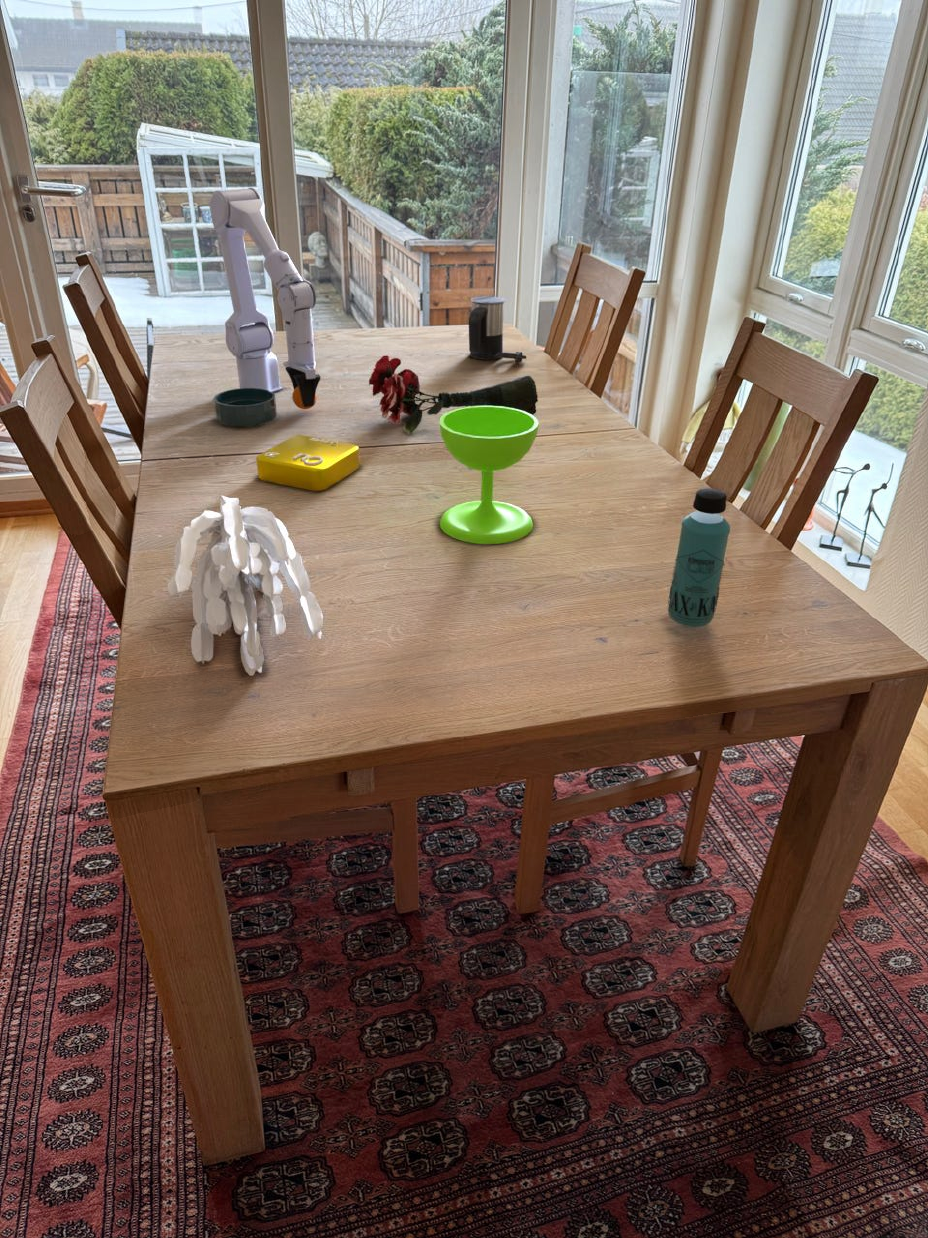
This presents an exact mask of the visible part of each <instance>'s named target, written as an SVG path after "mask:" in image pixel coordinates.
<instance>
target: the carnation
mask: <svg viewBox="0 0 928 1238" xmlns="http://www.w3.org/2000/svg"><path fill="white" fill-rule="evenodd" d="M401 364H402V360H401V359H400V358H398V357H393V358H391V359H390V356H389V355H387V354H386V355H382V356H381V357H380V358H379V359H378V360H377V361H376V363H375V365H374V368H373V371H372V373H371V375H370V377H369V379H368V385H369V386H371V385H372V396H373V397H375V396H376V395H379V394H382V395H383V396H382V397H381V399H380V401H379V404H378V405H379V406H380V410H379V411H380V413H381V418H382V419H384V420H387V421H389V423H391V424H396V423H397V424H401V414H402V413H403V414H406V415H407V416H408V417H407V418H406V421H405V423H404V430H405V432H406V433H407V434H409V435H412V434H413V432H414V431H415V430H417V428H418V427H419V425H420V423H421V421H422V419H423V412H425V411H427V412H426V414H427V415H430V416H431V415H432V416H433V415H437V414H439V413H441V411H442V409H449V408H450V407H451V408H464V407H471V406H502V407H509V408H515V409H518V410H522V411H525V412H527V413H530V414H532V415H533V416H534V415H535V414H536V413H537V406H536V403H538V402H539V398H538V391H537V384H536V381H535V379H534V378H533V377H532V376H531V375H526V376H525V375H524V376H521V377H516V378H515V379H511V380H508V381H505V382H500V383H497V384H495V385H490V386H485V387H482V388H479V389H475V390H470V391H461V392H459V391H458V392H451V393H449V392H439V393H438V395H432V394H428V393H425V392H422V391H421V389H420V388H421V387H420V380H419V376H418V375H417V374H416V373H415V372H414V371H412V370H411V369H408V368H404V369H403V370H401V371H400V372H398V373H395V372H396V370H397V368H398V367H399V366H401ZM421 396H426V397H430V398H421ZM430 400H431V401H430ZM436 400H437V401H436ZM417 402H419V403H417ZM425 403H429V404H433V405H432V406H430V407H428V408H424V409H421V407H422V405H423V404H425ZM389 413H390V415H389Z"/></svg>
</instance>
